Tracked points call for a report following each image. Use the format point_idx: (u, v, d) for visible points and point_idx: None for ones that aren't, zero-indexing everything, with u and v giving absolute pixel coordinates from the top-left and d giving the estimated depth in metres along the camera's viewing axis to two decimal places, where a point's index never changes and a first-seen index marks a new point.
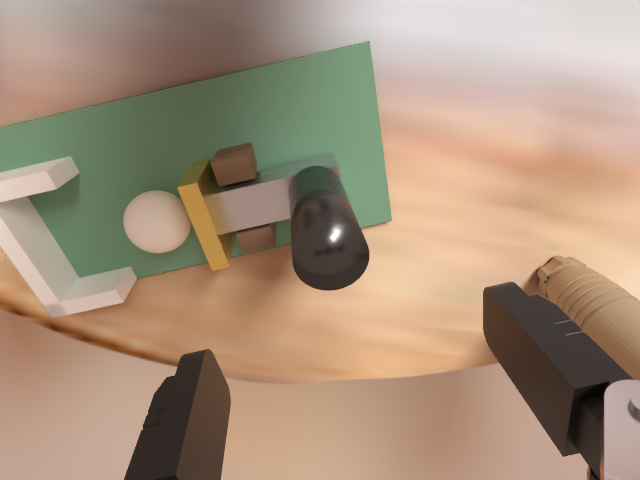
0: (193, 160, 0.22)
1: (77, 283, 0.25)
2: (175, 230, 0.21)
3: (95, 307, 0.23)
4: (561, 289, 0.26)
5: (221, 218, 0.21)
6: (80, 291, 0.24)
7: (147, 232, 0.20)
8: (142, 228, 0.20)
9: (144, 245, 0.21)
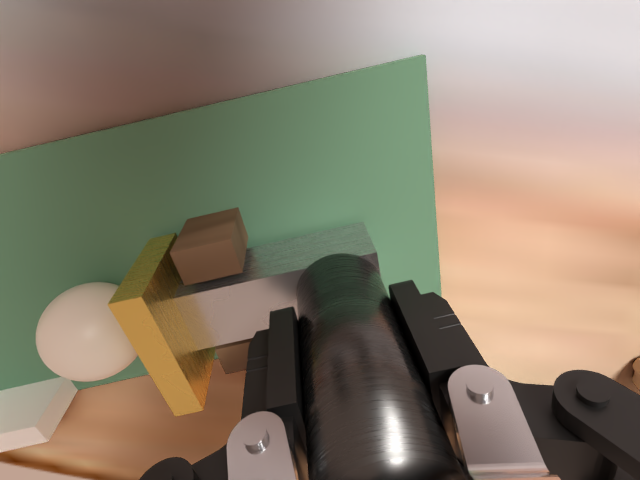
0: (150, 234, 0.15)
1: None
2: (116, 352, 0.13)
3: (6, 449, 0.16)
4: None
5: (191, 330, 0.13)
6: None
7: (69, 361, 0.13)
8: (60, 355, 0.13)
9: (66, 377, 0.13)
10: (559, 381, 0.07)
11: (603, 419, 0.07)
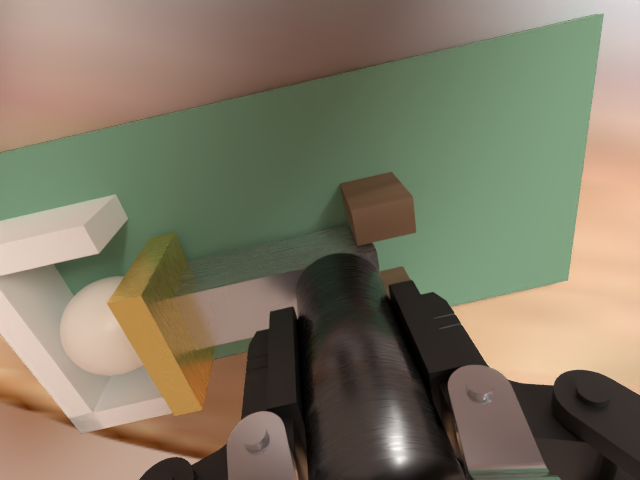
0: (301, 199, 0.15)
1: None
2: None
3: (145, 417, 0.16)
4: None
5: (190, 330, 0.13)
6: (122, 391, 0.16)
7: None
8: None
9: None
10: (559, 381, 0.07)
11: (603, 419, 0.07)
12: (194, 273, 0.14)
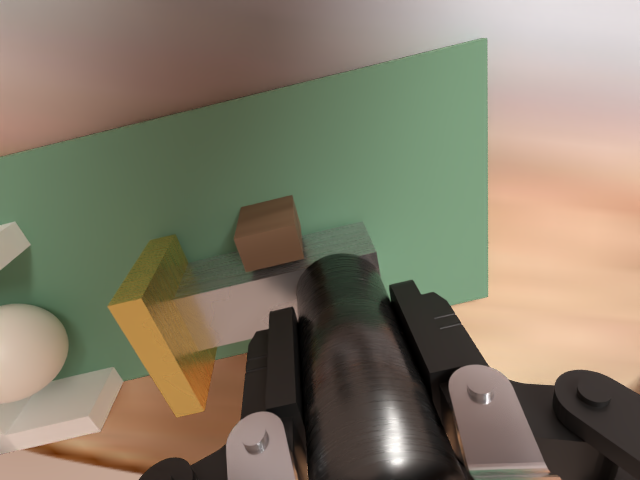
0: (204, 223, 0.15)
1: (36, 395, 0.17)
2: None
3: (59, 439, 0.16)
4: None
5: (191, 331, 0.14)
6: (37, 413, 0.16)
7: None
8: None
9: None
10: (560, 381, 0.07)
11: (604, 419, 0.07)
12: (194, 275, 0.14)
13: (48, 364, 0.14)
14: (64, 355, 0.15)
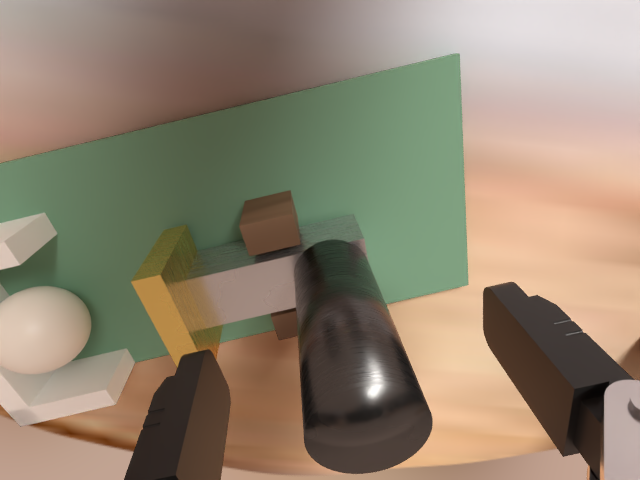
0: (211, 215, 0.16)
1: (56, 373, 0.19)
2: None
3: (78, 411, 0.17)
4: None
5: (200, 310, 0.15)
6: (58, 388, 0.18)
7: None
8: None
9: None
10: None
11: None
12: (203, 260, 0.16)
13: (77, 337, 0.16)
14: (89, 330, 0.17)
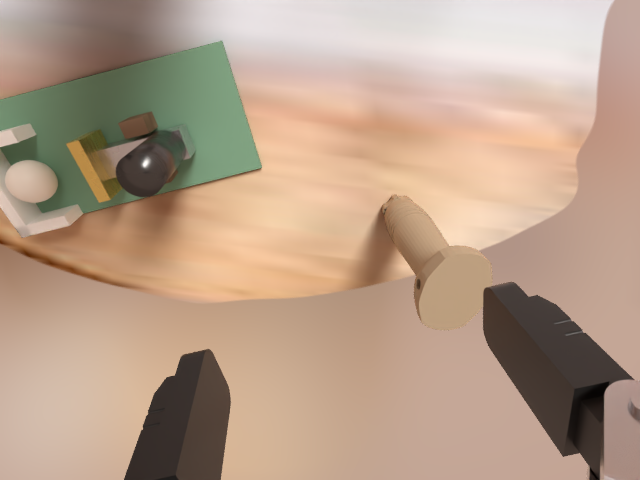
0: (113, 125, 0.33)
1: (40, 215, 0.35)
2: None
3: (50, 229, 0.34)
4: (387, 215, 0.36)
5: (105, 168, 0.32)
6: (40, 219, 0.34)
7: None
8: None
9: None
10: None
11: None
12: (107, 145, 0.32)
13: (51, 183, 0.32)
14: (57, 183, 0.33)
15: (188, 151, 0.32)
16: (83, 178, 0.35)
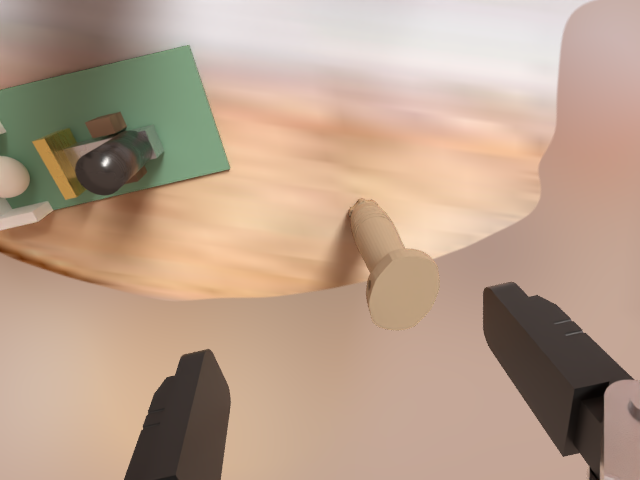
0: (82, 124, 0.33)
1: (9, 211, 0.36)
2: None
3: (19, 224, 0.34)
4: (352, 218, 0.37)
5: (73, 166, 0.32)
6: (9, 214, 0.35)
7: None
8: None
9: None
10: None
11: None
12: (76, 144, 0.33)
13: (24, 178, 0.33)
14: (29, 179, 0.34)
15: (154, 151, 0.33)
16: None
